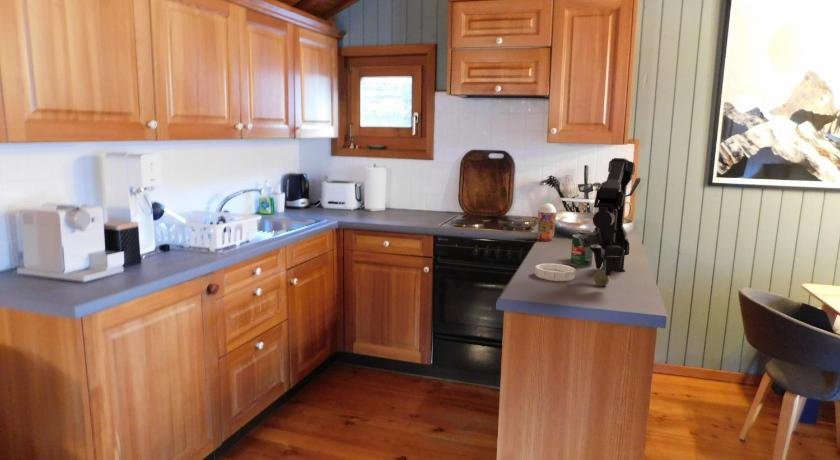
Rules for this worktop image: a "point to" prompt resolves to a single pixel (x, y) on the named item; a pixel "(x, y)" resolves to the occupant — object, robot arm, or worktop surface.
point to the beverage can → (585, 231)
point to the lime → (601, 278)
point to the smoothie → (546, 221)
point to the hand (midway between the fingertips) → (602, 272)
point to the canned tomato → (580, 253)
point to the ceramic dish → (555, 272)
